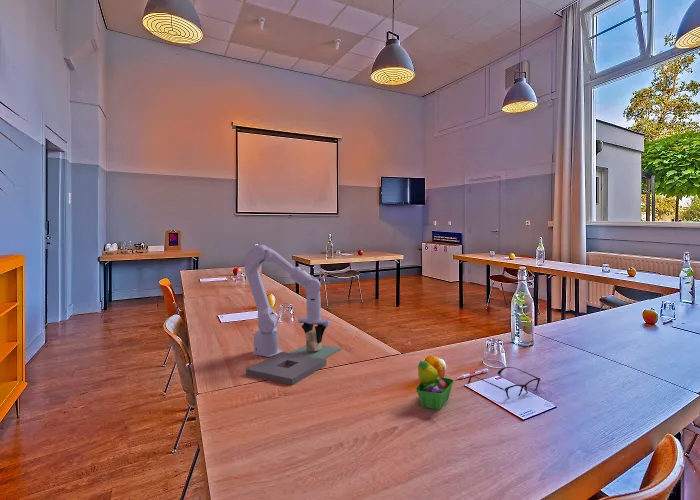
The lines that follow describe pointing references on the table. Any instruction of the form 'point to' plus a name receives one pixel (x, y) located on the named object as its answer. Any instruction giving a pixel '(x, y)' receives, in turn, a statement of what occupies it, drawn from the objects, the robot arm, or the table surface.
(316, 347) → the birch block
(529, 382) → the eyeglasses
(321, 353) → the rubber mat
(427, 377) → the fruit basket
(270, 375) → the pocket plate
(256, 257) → the robot arm
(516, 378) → the table surface
